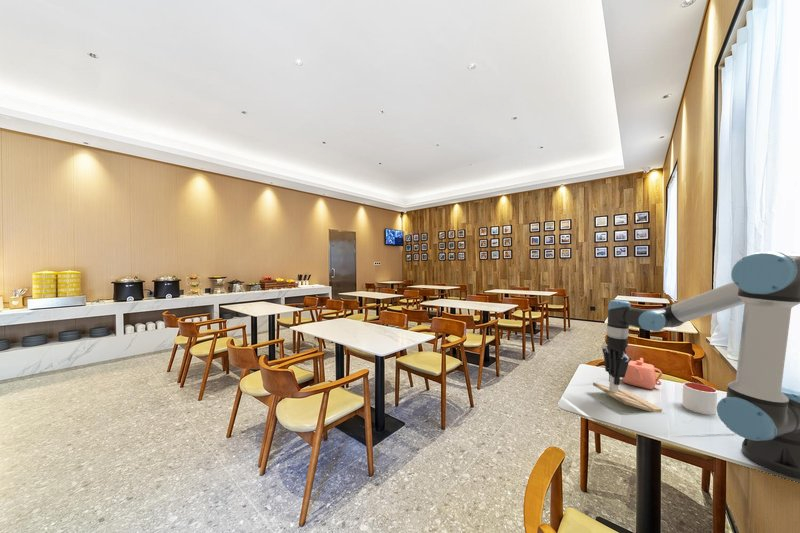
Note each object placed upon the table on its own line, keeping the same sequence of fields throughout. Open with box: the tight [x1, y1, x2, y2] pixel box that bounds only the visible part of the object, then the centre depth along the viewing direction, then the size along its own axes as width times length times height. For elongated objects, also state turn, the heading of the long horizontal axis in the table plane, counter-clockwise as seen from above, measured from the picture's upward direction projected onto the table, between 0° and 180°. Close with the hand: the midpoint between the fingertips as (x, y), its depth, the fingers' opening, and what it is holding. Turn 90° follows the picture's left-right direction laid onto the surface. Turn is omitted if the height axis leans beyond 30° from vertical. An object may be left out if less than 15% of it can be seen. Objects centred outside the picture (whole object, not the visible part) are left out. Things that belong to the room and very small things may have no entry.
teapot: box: [621, 357, 663, 390], centre depth 149 cm, size 15×17×13 cm
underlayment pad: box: [585, 389, 666, 416], centre depth 130 cm, size 20×19×2 cm
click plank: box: [592, 382, 652, 412], centre depth 130 cm, size 18×12×1 cm, turn 5°
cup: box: [681, 381, 718, 416], centre depth 125 cm, size 10×10×10 cm
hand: (613, 390), depth 130 cm, fingers closed
